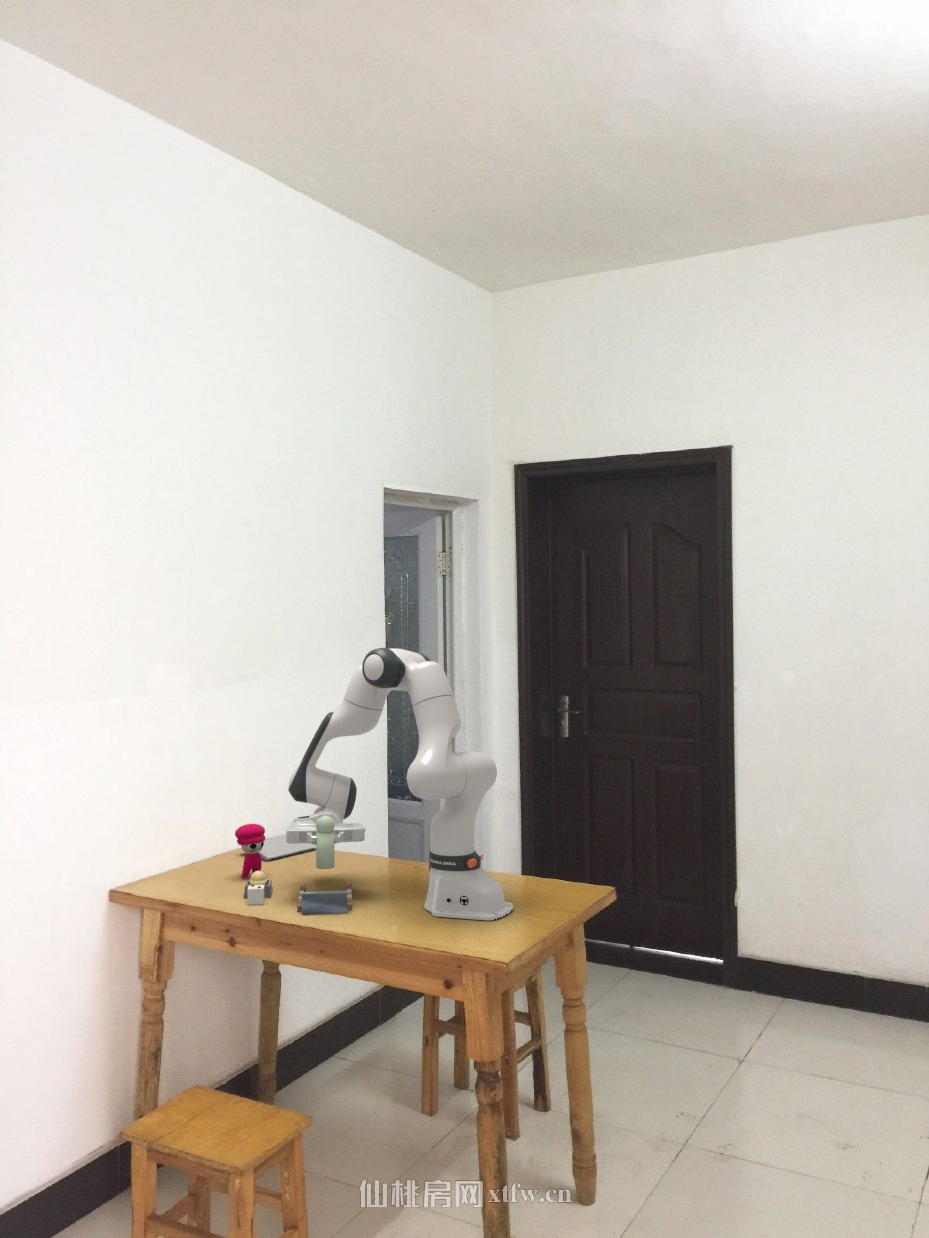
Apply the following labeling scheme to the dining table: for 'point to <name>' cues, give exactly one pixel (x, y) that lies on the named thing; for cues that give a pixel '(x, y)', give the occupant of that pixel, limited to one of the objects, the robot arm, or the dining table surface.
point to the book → (282, 847)
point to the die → (256, 894)
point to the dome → (258, 878)
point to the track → (324, 901)
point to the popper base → (267, 889)
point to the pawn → (325, 843)
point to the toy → (251, 846)
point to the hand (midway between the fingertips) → (325, 839)
